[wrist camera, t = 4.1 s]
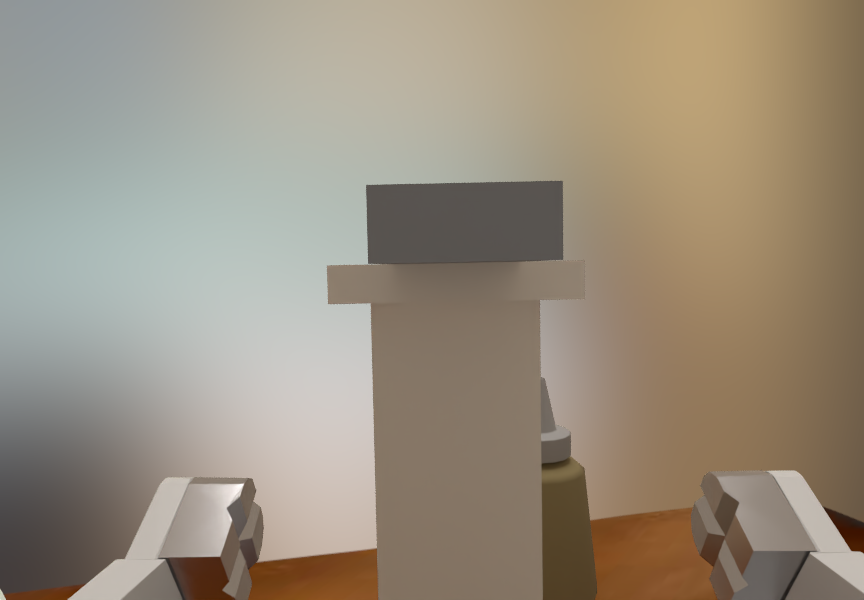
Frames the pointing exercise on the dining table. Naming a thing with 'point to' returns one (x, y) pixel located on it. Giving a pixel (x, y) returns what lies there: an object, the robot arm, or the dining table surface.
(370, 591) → the dining table surface
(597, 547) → the dining table surface
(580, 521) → the squeeze bottle
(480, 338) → the stand
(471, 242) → the cover
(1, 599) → the jar
